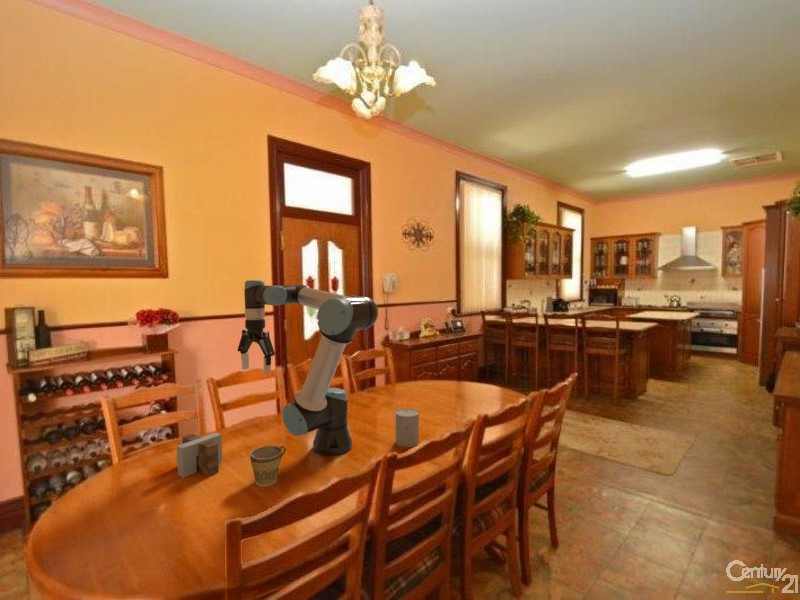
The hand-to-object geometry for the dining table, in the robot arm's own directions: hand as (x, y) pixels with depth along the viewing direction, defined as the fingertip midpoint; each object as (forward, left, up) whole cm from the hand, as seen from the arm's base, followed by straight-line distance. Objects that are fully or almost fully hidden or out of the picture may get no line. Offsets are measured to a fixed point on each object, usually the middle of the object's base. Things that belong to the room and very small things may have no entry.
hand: (256, 371), depth 161 cm
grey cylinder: (-52, -32, -29) cm, 68 cm away
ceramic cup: (-30, +18, -29) cm, 45 cm away
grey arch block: (-3, +26, -29) cm, 39 cm away
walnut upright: (-3, +26, -29) cm, 39 cm away
